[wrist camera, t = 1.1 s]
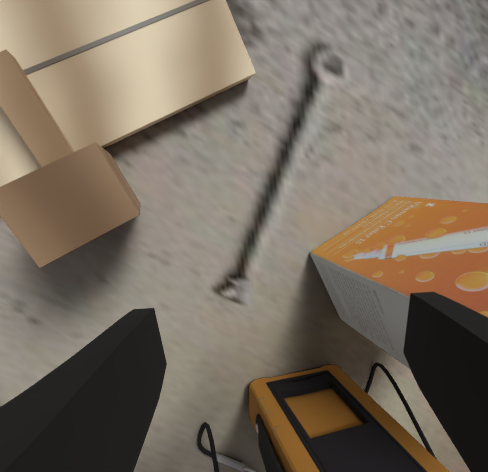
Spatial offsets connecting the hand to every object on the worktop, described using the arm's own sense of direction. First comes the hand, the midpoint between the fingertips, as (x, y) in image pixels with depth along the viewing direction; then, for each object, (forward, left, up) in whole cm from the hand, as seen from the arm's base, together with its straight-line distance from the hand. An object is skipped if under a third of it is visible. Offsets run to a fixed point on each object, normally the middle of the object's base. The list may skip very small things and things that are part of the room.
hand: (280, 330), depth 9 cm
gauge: (-4, +8, -11) cm, 14 cm away
